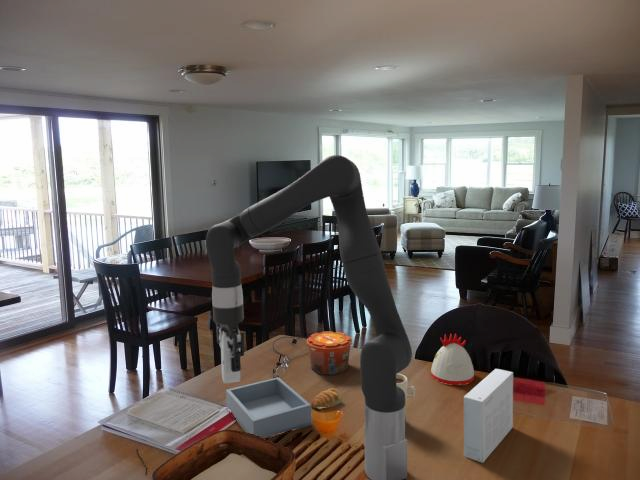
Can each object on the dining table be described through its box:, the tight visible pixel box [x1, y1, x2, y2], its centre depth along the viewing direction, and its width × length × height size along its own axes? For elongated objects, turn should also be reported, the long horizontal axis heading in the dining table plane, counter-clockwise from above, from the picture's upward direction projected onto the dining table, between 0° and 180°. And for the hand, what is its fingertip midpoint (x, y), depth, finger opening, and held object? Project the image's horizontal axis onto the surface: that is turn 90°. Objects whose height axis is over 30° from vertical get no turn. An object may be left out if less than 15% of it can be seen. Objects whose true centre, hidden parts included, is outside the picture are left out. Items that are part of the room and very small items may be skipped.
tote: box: [225, 377, 312, 438], centre depth 147 cm, size 21×17×6 cm
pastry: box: [311, 387, 343, 409], centre depth 155 cm, size 9×7×4 cm
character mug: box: [396, 373, 416, 422], centre depth 143 cm, size 11×7×13 cm, turn 77°
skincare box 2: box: [463, 368, 514, 464], centre depth 133 cm, size 21×6×16 cm, turn 141°
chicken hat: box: [430, 333, 475, 386], centre depth 172 cm, size 14×14×15 cm
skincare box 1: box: [220, 333, 241, 384], centre depth 131 cm, size 6×4×12 cm
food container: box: [306, 330, 353, 375], centre depth 181 cm, size 16×16×11 cm
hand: (231, 366), depth 131 cm, fingers closed on skincare box 1, 6 cm apart
